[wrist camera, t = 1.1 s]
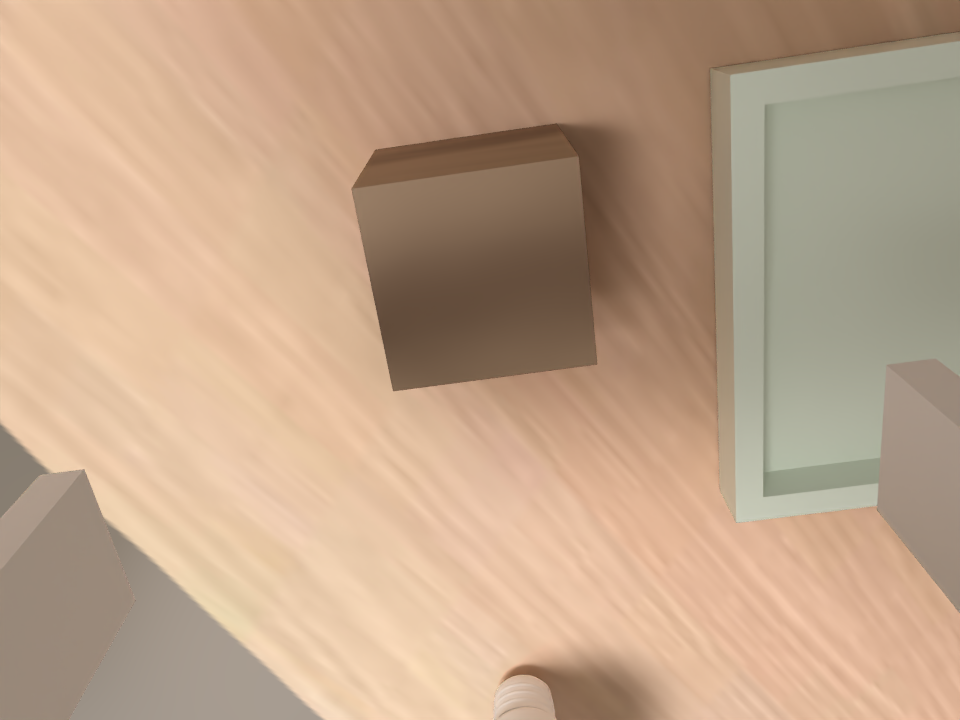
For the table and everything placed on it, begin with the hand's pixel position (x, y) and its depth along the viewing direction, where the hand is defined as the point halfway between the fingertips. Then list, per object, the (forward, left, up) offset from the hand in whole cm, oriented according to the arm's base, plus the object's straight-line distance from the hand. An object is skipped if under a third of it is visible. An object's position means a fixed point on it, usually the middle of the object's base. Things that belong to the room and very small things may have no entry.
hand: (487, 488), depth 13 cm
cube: (0, 0, -16) cm, 16 cm away
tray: (+4, +16, -16) cm, 23 cm away
